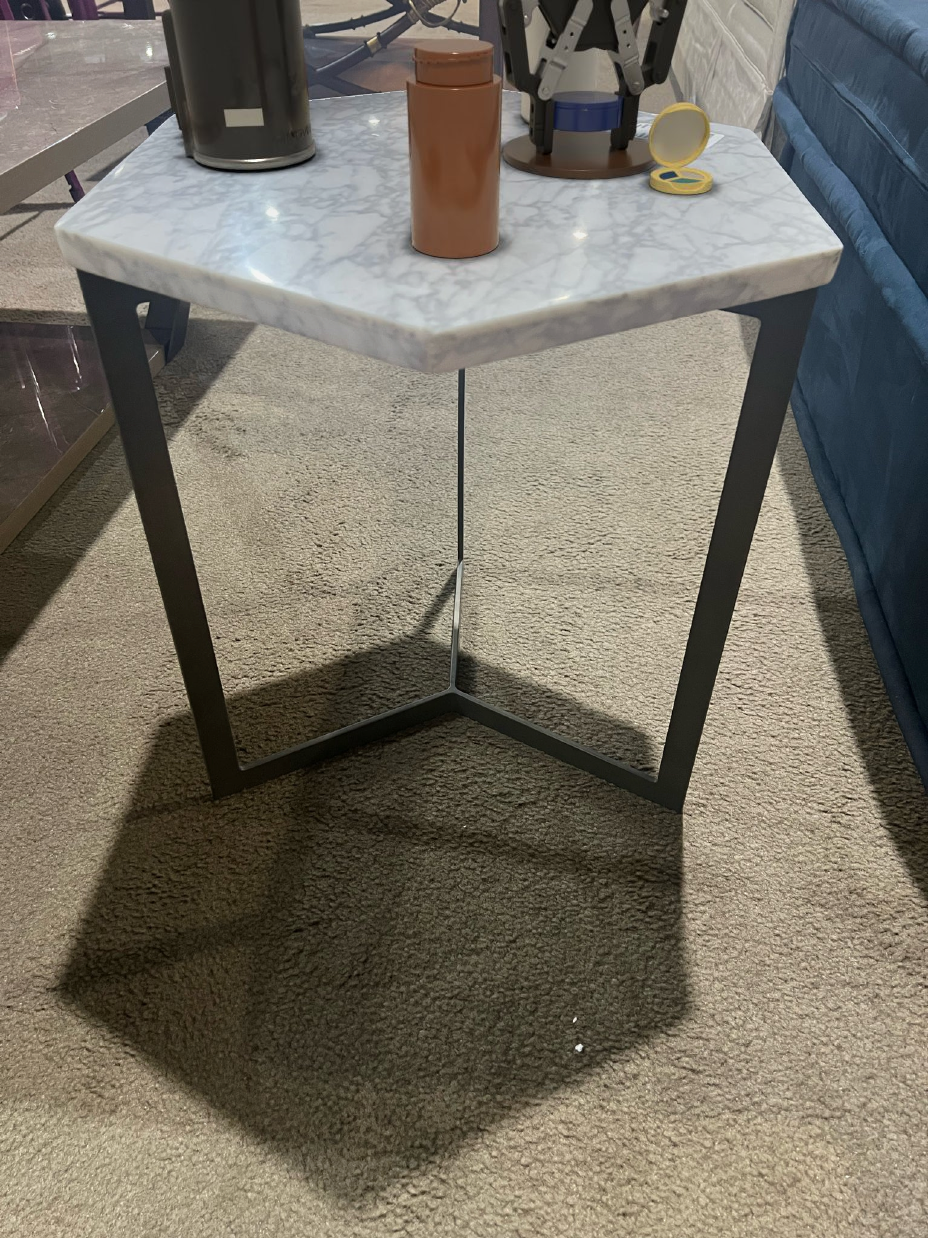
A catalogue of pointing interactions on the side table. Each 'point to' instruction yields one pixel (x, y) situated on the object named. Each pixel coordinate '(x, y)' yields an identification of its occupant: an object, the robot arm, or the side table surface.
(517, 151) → the coaster
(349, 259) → the side table surface
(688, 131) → the eyeshadow
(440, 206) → the jar
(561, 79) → the can
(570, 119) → the jar lid
